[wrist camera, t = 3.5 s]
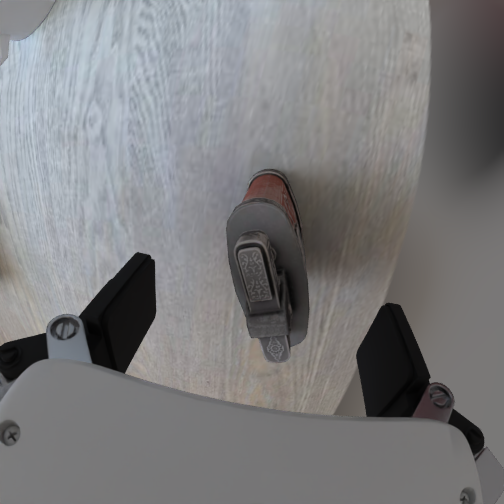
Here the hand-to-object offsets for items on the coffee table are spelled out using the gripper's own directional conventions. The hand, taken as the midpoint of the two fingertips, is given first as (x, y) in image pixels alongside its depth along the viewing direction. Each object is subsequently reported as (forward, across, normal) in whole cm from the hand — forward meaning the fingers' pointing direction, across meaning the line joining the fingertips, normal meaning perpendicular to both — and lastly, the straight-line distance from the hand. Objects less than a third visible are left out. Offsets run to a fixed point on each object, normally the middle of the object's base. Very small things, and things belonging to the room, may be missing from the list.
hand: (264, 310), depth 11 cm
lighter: (+10, 0, 0) cm, 10 cm away
